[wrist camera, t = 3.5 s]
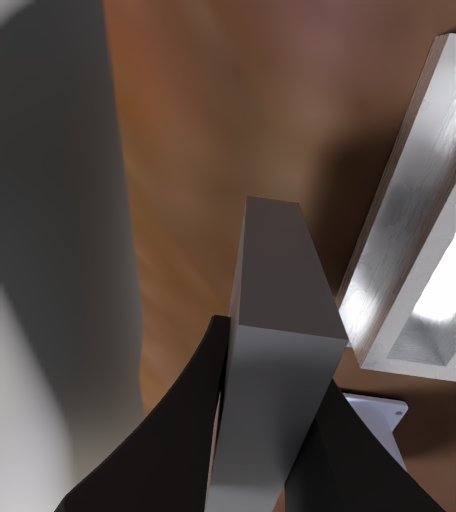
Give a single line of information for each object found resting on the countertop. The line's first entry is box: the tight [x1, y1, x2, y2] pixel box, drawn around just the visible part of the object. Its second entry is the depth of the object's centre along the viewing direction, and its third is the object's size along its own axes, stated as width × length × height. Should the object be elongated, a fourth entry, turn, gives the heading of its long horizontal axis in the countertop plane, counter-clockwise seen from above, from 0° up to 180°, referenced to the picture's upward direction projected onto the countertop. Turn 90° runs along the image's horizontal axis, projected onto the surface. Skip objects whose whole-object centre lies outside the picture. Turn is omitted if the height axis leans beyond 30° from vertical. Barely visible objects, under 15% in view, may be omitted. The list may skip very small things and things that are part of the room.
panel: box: [204, 196, 349, 512], centre depth 11 cm, size 9×2×7 cm, turn 174°
